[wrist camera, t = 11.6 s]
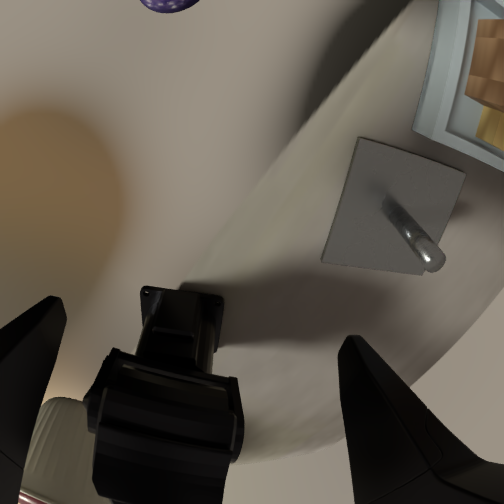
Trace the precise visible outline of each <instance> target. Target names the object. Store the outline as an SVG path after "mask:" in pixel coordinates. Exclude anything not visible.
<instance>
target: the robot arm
mask: <svg viewBox="0 0 504 504" xmlns="http://www.w3.org/2000/svg"><path fill="white" fill-rule="evenodd" d="M145 291H146V292H148V293H146V292H145ZM140 299H141V312H142V324H143V329H142V332H141V335H140V339H139V342H138V345H137V349H136V352H135V355H133V354H129V353H126V352H122V351H120V349H117V348H114V347H113V348H112V350H111V352H110V354H109V356H108V355H107V356H106V358H105V360H104V361H103V363H102V366H101V368H100V370H99V373H98V375H97V377H96V379H95V381H94V383H93V385H92V386H91V388H90V389H89V390H88V392H87V393H86V395H85V396H84V398H83V402H82V405H83V407H84V409H85V410H86V412H87V428H88V432H90V433H93V434H95V443H94V452H93V462H92V469H93V473H92V482H93V484H94V487H95V489H96V491H97V494H98V495H99V496H101V497H104V498H108V499H109V501H110V502H111V504H222V501H223V493H224V486H225V480H226V476H227V472H228V468H229V464H230V463H234V462H235V461H236V460H237V459H238V457H239V454H240V451H241V448H242V444H243V438H244V415H243V409H242V403H241V398H240V392H239V386H238V380H237V378H236V377H230V376H229V377H224V376H219V375H214V374H212V366H213V353H215V352H217V349H218V342H219V336H220V329H221V323H222V316H223V310H224V298H223V297H221V296H218V295H210V294H202V293H195V292H187V291H180V290H173V289H165V288H159V287H153V286H143V287H142V288H141V291H140ZM216 302H220V303H216ZM66 321H67V316H66V312H65V309H64V305H63V302H62V299H61V298H60V297H56V296H51V295H50V296H48V297H46V298H44V299H43V300H41V301H40V302H38V303H37V304H35V305H34V306H33V307H31V308H30V309H28V310H27V311H25V312H24V313H22V314H21V315H19V316H18V317H17V318H15V319H14V320H12V321H11V322H9V323H8V324H7V325H5V326H4V327H2V328H1V329H0V504H18V500H19V494H20V488H21V483H22V478H23V473H24V468H25V463H26V459H27V454H28V450H29V446H30V442H31V439H32V435H33V431H34V427H35V424H36V420H37V417H38V414H39V410H40V407H41V404H42V401H43V398H44V394H45V391H46V388H47V385H48V383H49V380H50V377H51V374H52V371H53V368H54V365H55V362H56V359H57V355H58V351H59V347H60V344H61V340H62V336H63V333H64V329H65V326H66ZM338 371H339V389H340V401H341V408H342V414H343V420H344V427H345V433H346V440H347V447H348V454H349V461H350V469H351V476H352V484H353V493H354V502H355V504H504V464H498V463H493V462H488V461H486V460H484V459H482V458H480V457H478V456H477V455H476V454H474V452H472V451H471V450H470V449H469V448H468V447H467V446H466V445H465V444H463V443H462V442H461V441H460V440H459V439H458V438H457V437H456V436H455V435H454V434H453V433H452V432H451V431H450V430H449V429H448V428H447V427H445V426H444V425H443V423H442V422H441V421H440V420H439V419H438V418H437V417H436V416H435V415H434V414H433V413H432V412H431V411H430V410H429V409H427V406H426V405H425V404H424V403H423V402H422V401H421V400H420V399H419V398H418V397H417V395H416V394H415V393H414V392H413V391H412V390H411V389H410V388H409V387H408V386H407V385H406V384H405V382H404V381H403V380H402V379H401V378H400V377H399V376H398V375H397V374H396V373H395V372H394V371H393V370H392V368H391V367H390V366H389V365H388V364H387V363H386V362H385V361H384V360H383V359H382V358H381V357H380V356H379V355H378V353H377V352H376V351H375V350H374V349H373V348H372V347H371V346H370V345H369V344H368V343H367V342H366V341H365V340H364V339H363V338H362V337H361V336H360V335H348V336H347V337H346V339H345V341H344V342H343V344H342V346H341V348H340V350H339V352H338Z"/></svg>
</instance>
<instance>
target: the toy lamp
mask: <svg viewBox="0 0 504 504" xmlns="http://www.w3.org/2000/svg"><path fill="white" fill-rule="evenodd" d="M140 1H141V2H142V3H143V4H144V5H145V6H146V7H147V8H149V9H151V10H153V11H156V12H160V13H174V12H179V11H182V10H185V9H187V8H189V7H191V6H193V5H194V4H196V3H197V2H198V1H199V0H140Z"/></svg>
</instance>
